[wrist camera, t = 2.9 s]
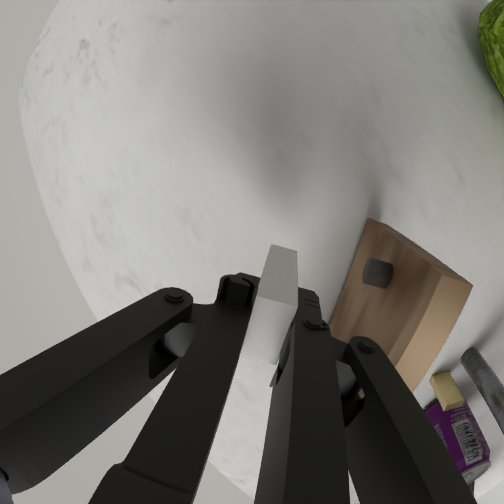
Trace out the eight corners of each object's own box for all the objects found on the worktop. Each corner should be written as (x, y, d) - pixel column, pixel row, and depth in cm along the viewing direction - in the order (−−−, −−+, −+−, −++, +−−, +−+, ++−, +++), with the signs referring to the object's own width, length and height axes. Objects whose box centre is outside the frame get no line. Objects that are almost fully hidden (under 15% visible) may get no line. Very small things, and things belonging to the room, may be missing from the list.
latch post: (474, 364, 23) (527, 450, 8) (454, 369, 23) (504, 464, 9) (482, 342, 22) (544, 428, 8) (462, 347, 22) (522, 443, 8)
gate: (323, 375, 24) (329, 483, 13) (295, 369, 24) (287, 479, 13) (387, 224, 19) (473, 285, 8) (353, 213, 20) (419, 267, 8)
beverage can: (406, 420, 26) (426, 495, 15) (448, 384, 24) (483, 457, 12) (432, 431, 26) (453, 495, 15) (470, 399, 24) (501, 461, 13)
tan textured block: (446, 377, 24) (461, 405, 19) (429, 381, 24) (443, 411, 19) (448, 371, 23) (464, 399, 18) (431, 375, 24) (446, 405, 19)
